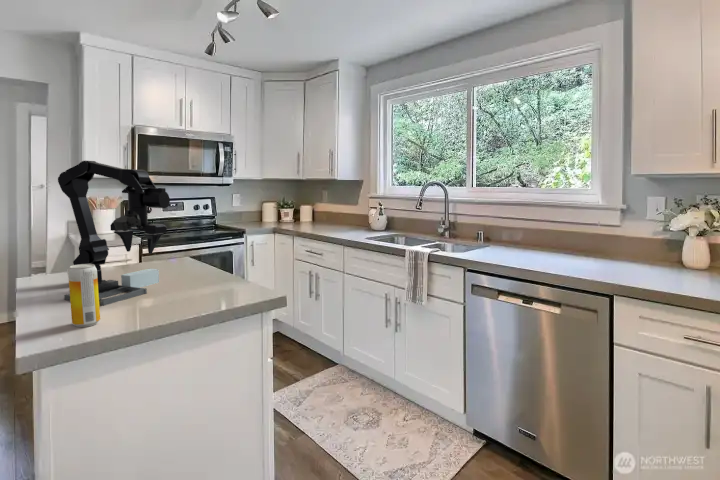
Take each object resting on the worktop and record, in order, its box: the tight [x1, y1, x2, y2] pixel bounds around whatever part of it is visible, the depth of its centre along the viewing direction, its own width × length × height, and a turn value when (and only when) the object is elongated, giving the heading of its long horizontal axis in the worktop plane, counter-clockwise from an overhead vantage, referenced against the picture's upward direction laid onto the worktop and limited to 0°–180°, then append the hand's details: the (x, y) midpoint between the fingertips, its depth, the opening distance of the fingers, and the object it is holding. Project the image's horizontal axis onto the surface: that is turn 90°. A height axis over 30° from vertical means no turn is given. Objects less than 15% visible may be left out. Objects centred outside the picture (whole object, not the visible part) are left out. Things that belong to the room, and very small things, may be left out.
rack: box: [63, 279, 148, 307], centre depth 135 cm, size 16×16×4 cm
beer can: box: [67, 264, 101, 328], centre depth 109 cm, size 6×6×15 cm
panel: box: [120, 268, 160, 288], centre depth 150 cm, size 4×12×5 cm, turn 159°
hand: (139, 252), depth 148 cm, fingers open, 9 cm apart
